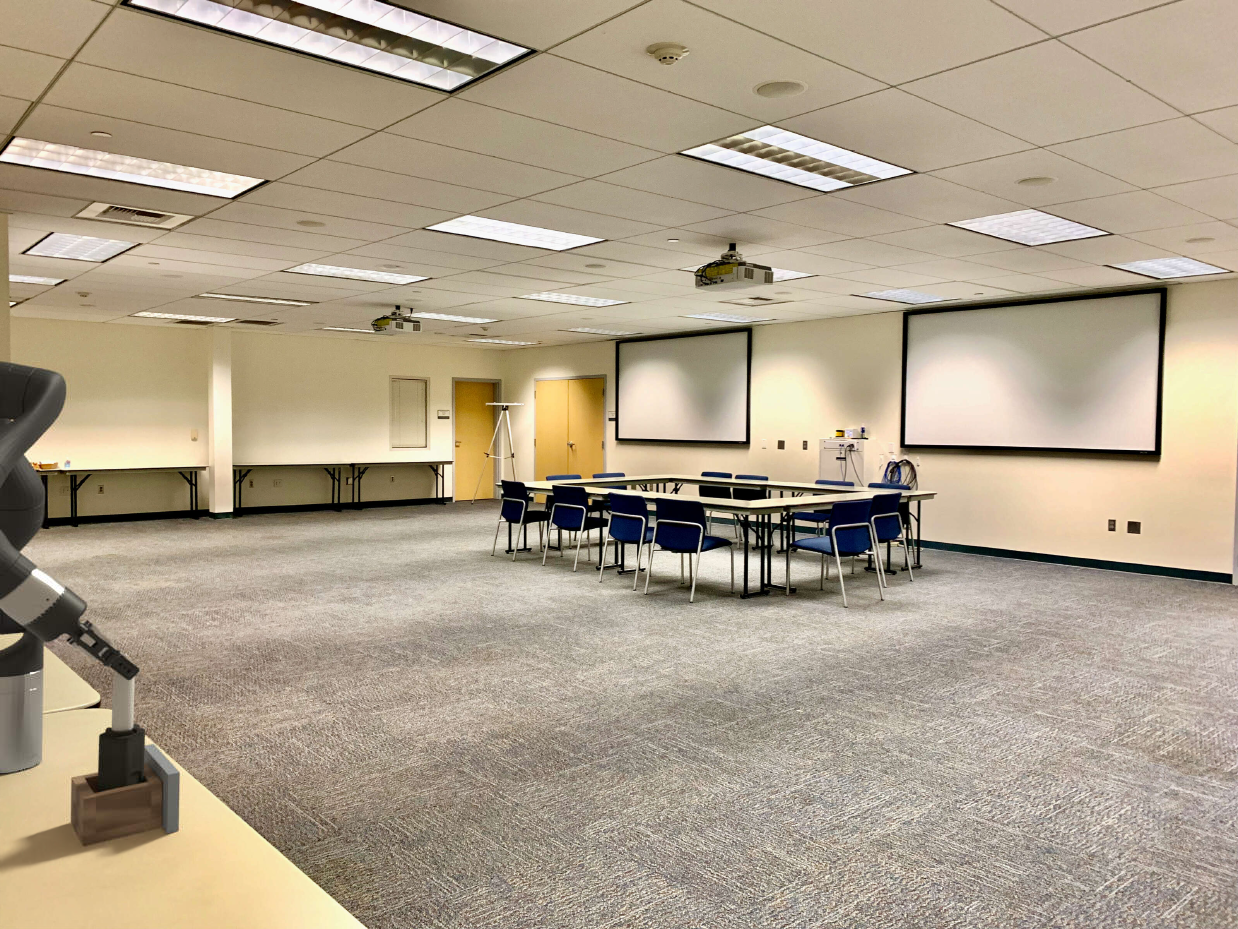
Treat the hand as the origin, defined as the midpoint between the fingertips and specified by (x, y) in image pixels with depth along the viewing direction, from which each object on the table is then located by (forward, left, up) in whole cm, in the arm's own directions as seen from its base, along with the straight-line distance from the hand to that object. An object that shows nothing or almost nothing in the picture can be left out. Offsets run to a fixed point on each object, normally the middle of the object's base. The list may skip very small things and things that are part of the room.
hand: (128, 669), depth 133 cm
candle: (0, -1, -23) cm, 23 cm away
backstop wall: (+2, +5, -24) cm, 24 cm away
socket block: (0, -1, -24) cm, 24 cm away
